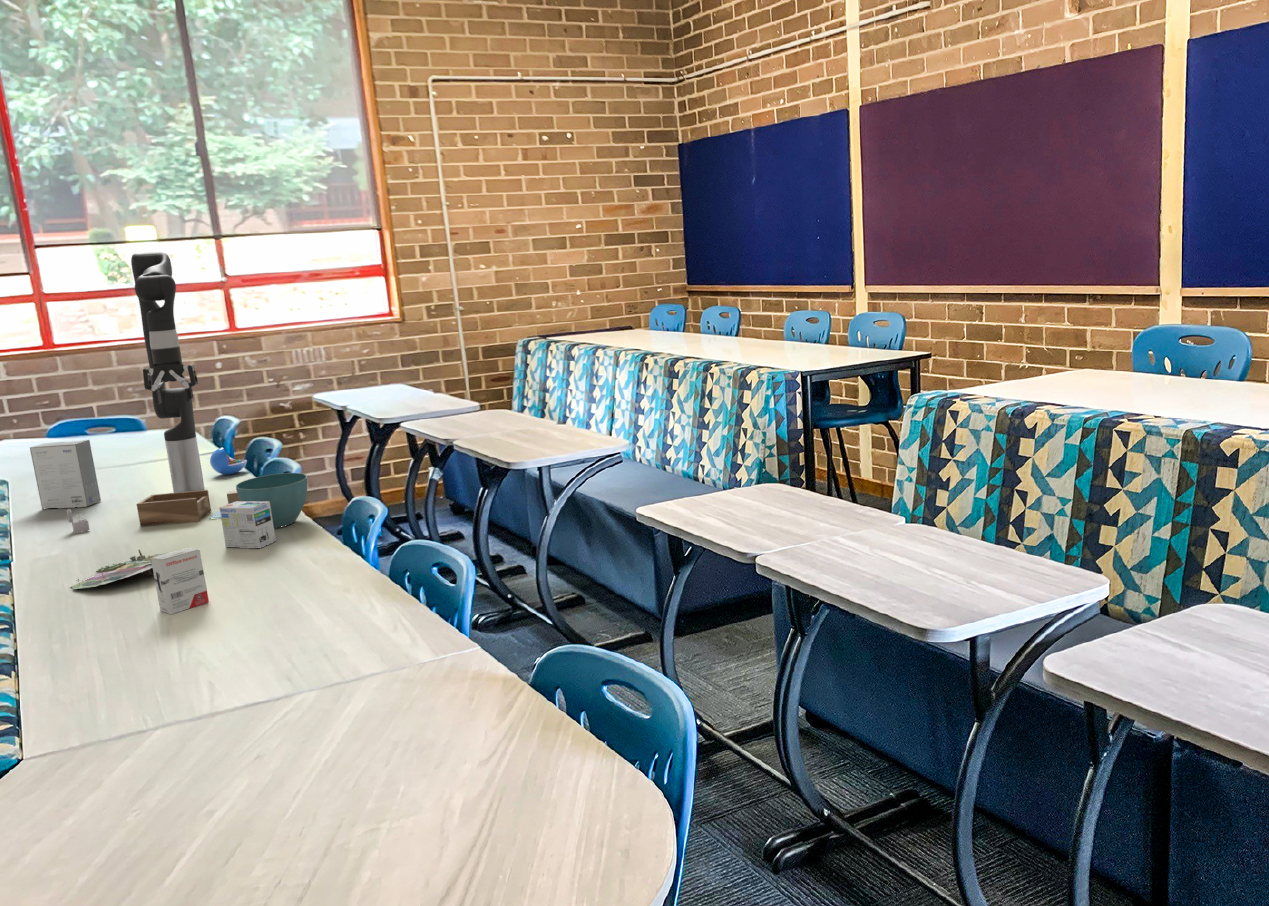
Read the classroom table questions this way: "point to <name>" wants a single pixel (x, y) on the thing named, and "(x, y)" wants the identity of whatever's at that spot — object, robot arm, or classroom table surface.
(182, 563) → the ink box
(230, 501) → the lid
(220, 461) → the cell model
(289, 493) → the plant pot
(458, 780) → the classroom table surface
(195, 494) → the brown wooden shelf box
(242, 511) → the light bulb box
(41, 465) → the hard drive box
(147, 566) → the city model
